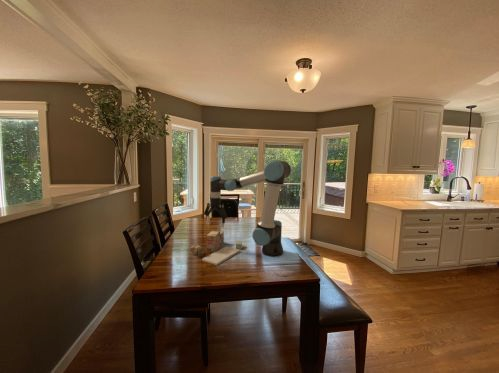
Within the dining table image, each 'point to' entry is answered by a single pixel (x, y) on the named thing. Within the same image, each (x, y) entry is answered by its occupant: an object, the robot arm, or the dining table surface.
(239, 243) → the sage block
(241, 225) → the dining table surface
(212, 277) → the dining table surface
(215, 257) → the board
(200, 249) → the walnut cylinder
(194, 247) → the oak cube
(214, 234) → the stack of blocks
